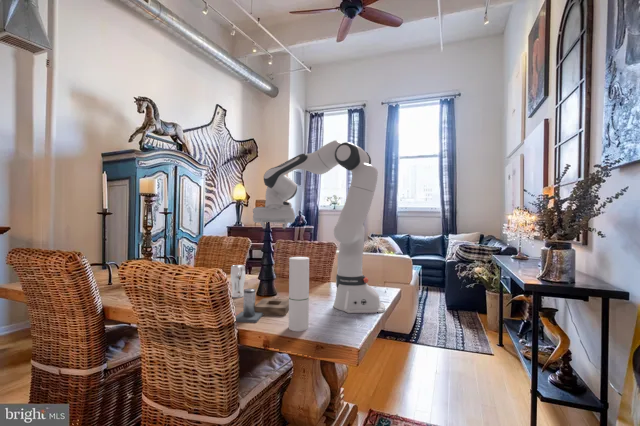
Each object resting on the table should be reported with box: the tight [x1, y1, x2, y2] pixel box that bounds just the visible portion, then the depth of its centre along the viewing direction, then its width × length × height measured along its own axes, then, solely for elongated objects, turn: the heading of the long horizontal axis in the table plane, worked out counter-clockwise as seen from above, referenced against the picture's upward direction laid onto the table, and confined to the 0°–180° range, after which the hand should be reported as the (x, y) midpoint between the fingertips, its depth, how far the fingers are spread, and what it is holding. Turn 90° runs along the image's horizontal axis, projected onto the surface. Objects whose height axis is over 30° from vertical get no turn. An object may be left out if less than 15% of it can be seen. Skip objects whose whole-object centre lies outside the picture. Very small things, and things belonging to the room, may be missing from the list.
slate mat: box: [235, 311, 264, 324], centre depth 121 cm, size 9×9×1 cm
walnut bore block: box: [255, 297, 289, 316], centre depth 132 cm, size 13×13×3 cm
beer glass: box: [230, 264, 246, 299], centre depth 153 cm, size 7×7×15 cm
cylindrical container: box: [288, 256, 310, 332], centre depth 112 cm, size 7×7×25 cm
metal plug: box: [242, 288, 256, 317], centre depth 121 cm, size 4×4×10 cm
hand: (274, 227), depth 147 cm, fingers open, 8 cm apart
